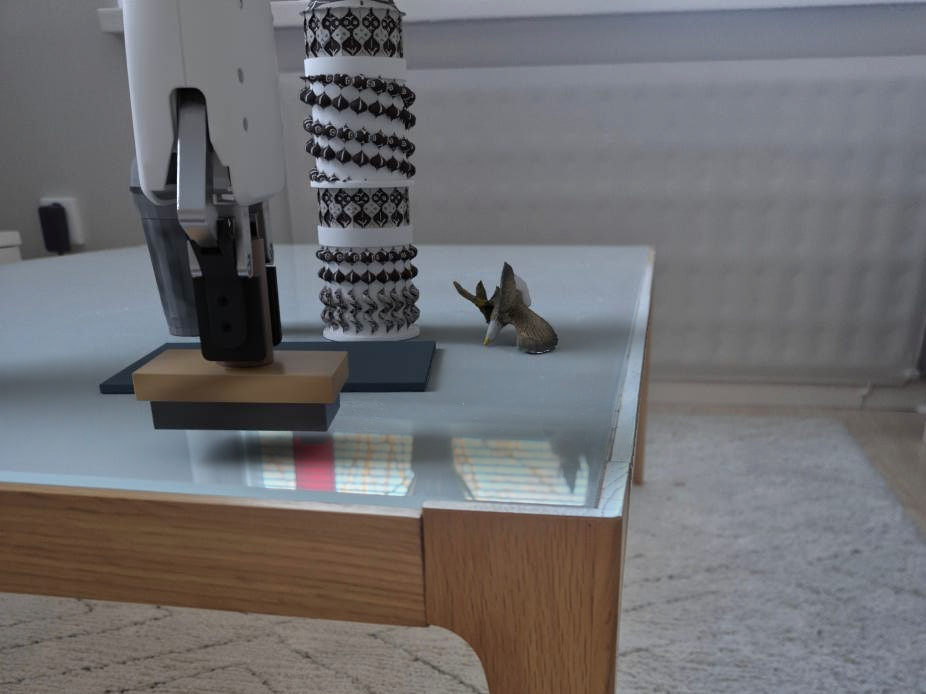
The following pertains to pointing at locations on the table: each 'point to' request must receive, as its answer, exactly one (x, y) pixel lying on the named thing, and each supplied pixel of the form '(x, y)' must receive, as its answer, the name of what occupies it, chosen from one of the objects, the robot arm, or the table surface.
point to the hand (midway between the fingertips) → (243, 349)
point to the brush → (244, 384)
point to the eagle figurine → (512, 312)
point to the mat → (366, 359)
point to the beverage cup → (167, 259)
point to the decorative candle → (361, 167)
